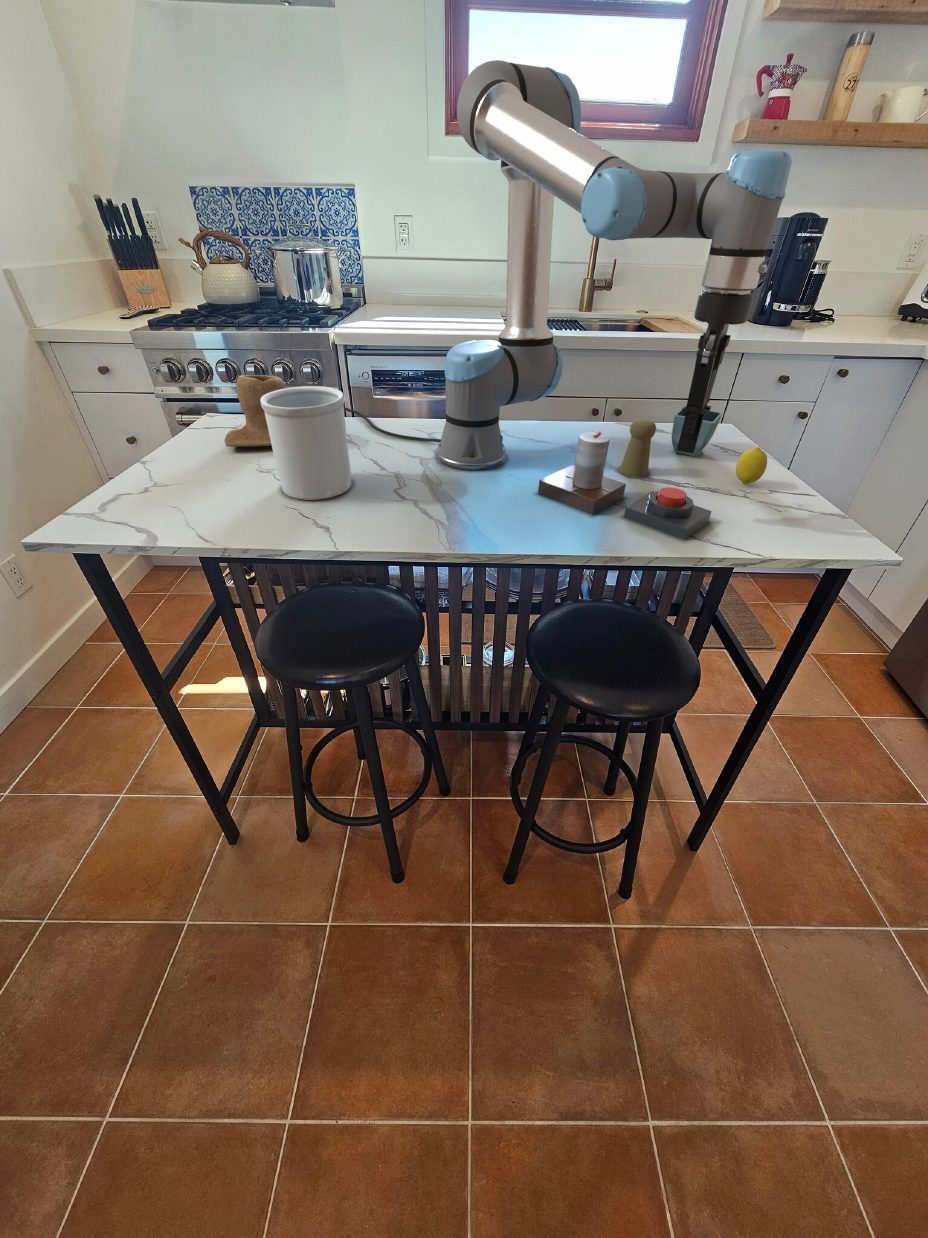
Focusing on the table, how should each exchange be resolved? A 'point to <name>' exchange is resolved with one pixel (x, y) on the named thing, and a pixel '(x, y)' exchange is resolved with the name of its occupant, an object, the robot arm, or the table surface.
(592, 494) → the control panel
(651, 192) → the robot arm
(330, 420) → the utensil holder
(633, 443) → the olive pawn figure
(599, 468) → the knob
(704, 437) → the flower pot
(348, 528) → the table surface
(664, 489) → the button
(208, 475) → the table surface
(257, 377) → the tan felt boot
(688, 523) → the button box
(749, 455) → the lemon
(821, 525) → the table surface
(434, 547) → the table surface
